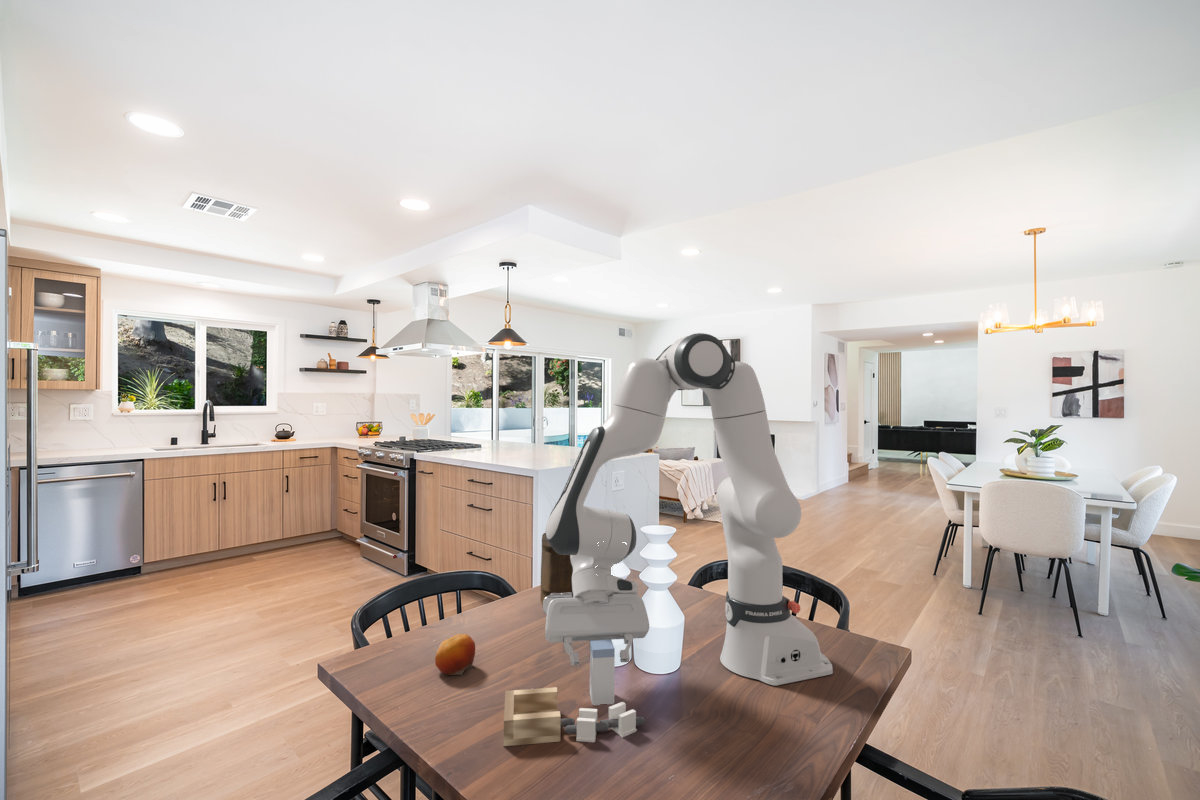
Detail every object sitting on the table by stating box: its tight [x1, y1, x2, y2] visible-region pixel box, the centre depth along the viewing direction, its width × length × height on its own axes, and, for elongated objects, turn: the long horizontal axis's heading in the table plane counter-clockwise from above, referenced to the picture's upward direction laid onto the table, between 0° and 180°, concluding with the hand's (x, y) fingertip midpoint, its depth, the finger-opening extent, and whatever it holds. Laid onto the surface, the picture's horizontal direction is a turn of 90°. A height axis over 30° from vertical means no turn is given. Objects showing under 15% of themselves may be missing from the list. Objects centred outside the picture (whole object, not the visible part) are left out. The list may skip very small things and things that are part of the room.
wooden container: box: [540, 532, 573, 604], centre depth 149 cm, size 15×15×22 cm
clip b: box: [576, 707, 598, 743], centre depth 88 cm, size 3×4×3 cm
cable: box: [560, 716, 646, 735], centre depth 89 cm, size 16×3×1 cm, turn 98°
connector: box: [589, 639, 616, 706], centre depth 99 cm, size 4×4×10 cm
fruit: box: [434, 633, 476, 676], centre depth 109 cm, size 8×8×8 cm
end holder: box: [503, 686, 562, 747], centre depth 90 cm, size 9×9×4 cm
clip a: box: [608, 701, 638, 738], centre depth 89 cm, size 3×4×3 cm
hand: (600, 662), depth 99 cm, fingers open, 8 cm apart
